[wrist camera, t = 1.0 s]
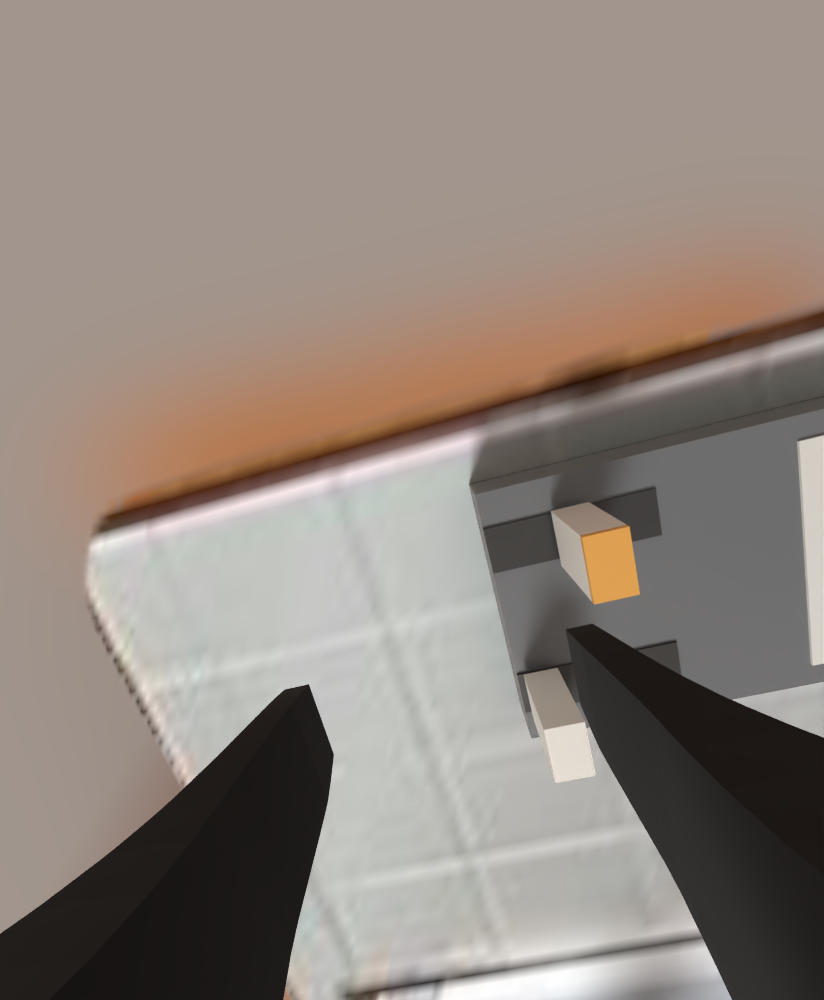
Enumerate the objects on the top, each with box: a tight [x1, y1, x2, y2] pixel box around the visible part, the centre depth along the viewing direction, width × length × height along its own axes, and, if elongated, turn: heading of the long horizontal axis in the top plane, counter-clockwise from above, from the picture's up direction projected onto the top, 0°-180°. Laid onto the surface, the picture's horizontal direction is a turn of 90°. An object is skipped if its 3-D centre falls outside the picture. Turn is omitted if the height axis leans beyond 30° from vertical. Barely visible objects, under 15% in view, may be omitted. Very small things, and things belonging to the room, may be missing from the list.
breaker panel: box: [469, 396, 824, 738], centre depth 19 cm, size 16×12×2 cm
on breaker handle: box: [524, 668, 596, 783], centre depth 17 cm, size 2×2×3 cm, turn 15°
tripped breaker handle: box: [551, 502, 640, 605], centre depth 15 cm, size 2×2×3 cm, turn 15°
